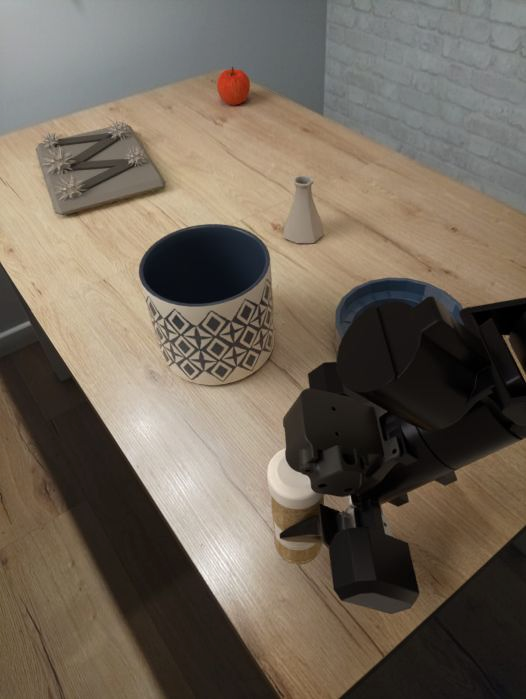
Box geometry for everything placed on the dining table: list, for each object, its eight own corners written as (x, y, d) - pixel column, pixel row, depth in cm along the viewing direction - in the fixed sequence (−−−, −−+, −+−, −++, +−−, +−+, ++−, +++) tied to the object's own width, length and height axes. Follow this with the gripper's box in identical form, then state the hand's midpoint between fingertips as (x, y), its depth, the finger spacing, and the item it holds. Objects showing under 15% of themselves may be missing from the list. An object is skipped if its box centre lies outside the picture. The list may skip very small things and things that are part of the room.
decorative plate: (169, 191, 101) (162, 156, 95) (58, 221, 95) (44, 186, 90) (131, 131, 120) (123, 99, 114) (37, 153, 114) (24, 121, 109)
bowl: (490, 359, 68) (500, 335, 64) (385, 414, 63) (390, 391, 59) (405, 286, 78) (410, 262, 75) (309, 329, 73) (310, 305, 70)
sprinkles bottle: (286, 574, 46) (281, 508, 37) (266, 529, 49) (256, 457, 39) (331, 553, 48) (338, 483, 38) (309, 510, 50) (310, 435, 40)
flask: (328, 223, 90) (331, 170, 83) (318, 248, 86) (319, 194, 78) (289, 218, 92) (288, 165, 85) (276, 241, 88) (274, 188, 80)
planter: (188, 406, 65) (166, 326, 55) (145, 330, 75) (120, 249, 64) (296, 357, 70) (295, 274, 59) (242, 291, 79) (233, 210, 69)
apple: (231, 93, 131) (228, 59, 125) (257, 99, 128) (255, 64, 122) (212, 104, 127) (207, 70, 121) (238, 111, 124) (234, 76, 118)
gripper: (338, 283, 37) (209, 387, 46) (390, 535, 25) (198, 614, 33) (428, 349, 43) (298, 431, 52) (508, 581, 30) (318, 639, 39)
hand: (281, 511), depth 44 cm, fingers closed on sprinkles bottle, 4 cm apart
